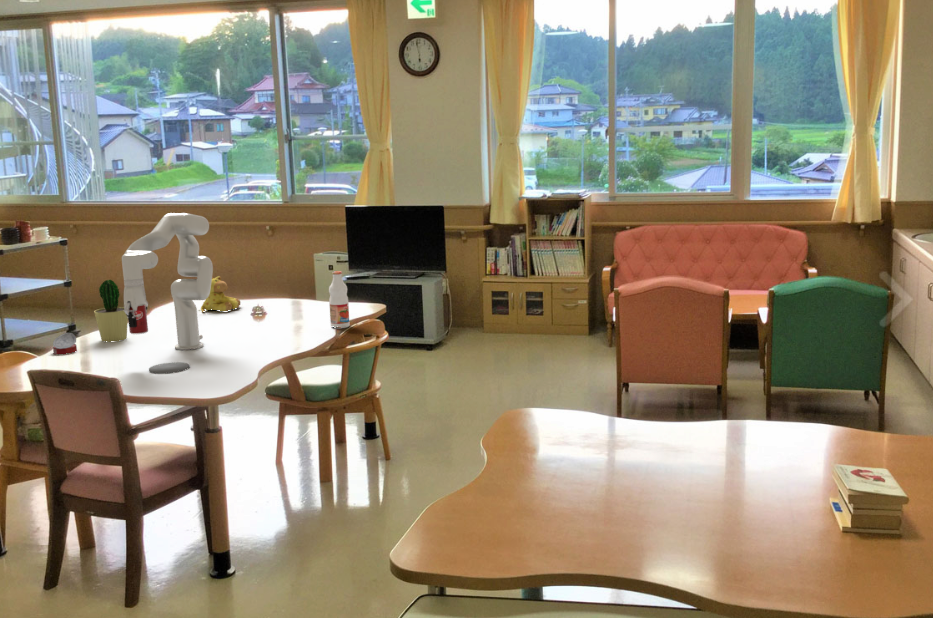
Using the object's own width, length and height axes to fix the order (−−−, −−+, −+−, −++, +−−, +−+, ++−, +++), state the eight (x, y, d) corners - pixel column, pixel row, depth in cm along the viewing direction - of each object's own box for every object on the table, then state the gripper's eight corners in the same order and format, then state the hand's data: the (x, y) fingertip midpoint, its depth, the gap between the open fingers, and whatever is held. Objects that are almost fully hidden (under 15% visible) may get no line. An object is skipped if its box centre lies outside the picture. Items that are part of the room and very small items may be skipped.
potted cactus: (123, 335, 432) (117, 275, 426) (136, 339, 421) (130, 277, 415) (92, 340, 421) (85, 279, 416) (104, 344, 410) (98, 281, 405)
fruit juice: (335, 324, 441) (332, 270, 436) (352, 325, 439) (349, 270, 434) (327, 328, 432) (324, 273, 427) (345, 329, 430) (342, 273, 425)
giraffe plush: (236, 312, 486) (234, 278, 482) (193, 314, 484) (190, 280, 481) (242, 306, 506) (240, 273, 503) (201, 308, 504) (198, 275, 501)
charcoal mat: (161, 363, 368) (161, 361, 368) (196, 364, 365) (196, 362, 365) (141, 373, 352) (141, 371, 352) (177, 374, 349) (177, 372, 349)
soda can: (142, 334, 359) (139, 306, 356) (126, 334, 360) (123, 306, 358) (151, 331, 366) (148, 303, 363) (136, 330, 367) (133, 303, 365)
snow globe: (78, 360, 400) (85, 342, 397) (58, 363, 391) (65, 344, 388) (65, 347, 404) (71, 329, 401) (45, 349, 396) (51, 331, 392)
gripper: (137, 280, 368) (141, 320, 371) (113, 286, 351) (118, 329, 355) (153, 280, 367) (157, 321, 370) (130, 286, 350) (134, 329, 353)
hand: (138, 324), depth 362 cm, fingers closed on soda can, 7 cm apart
